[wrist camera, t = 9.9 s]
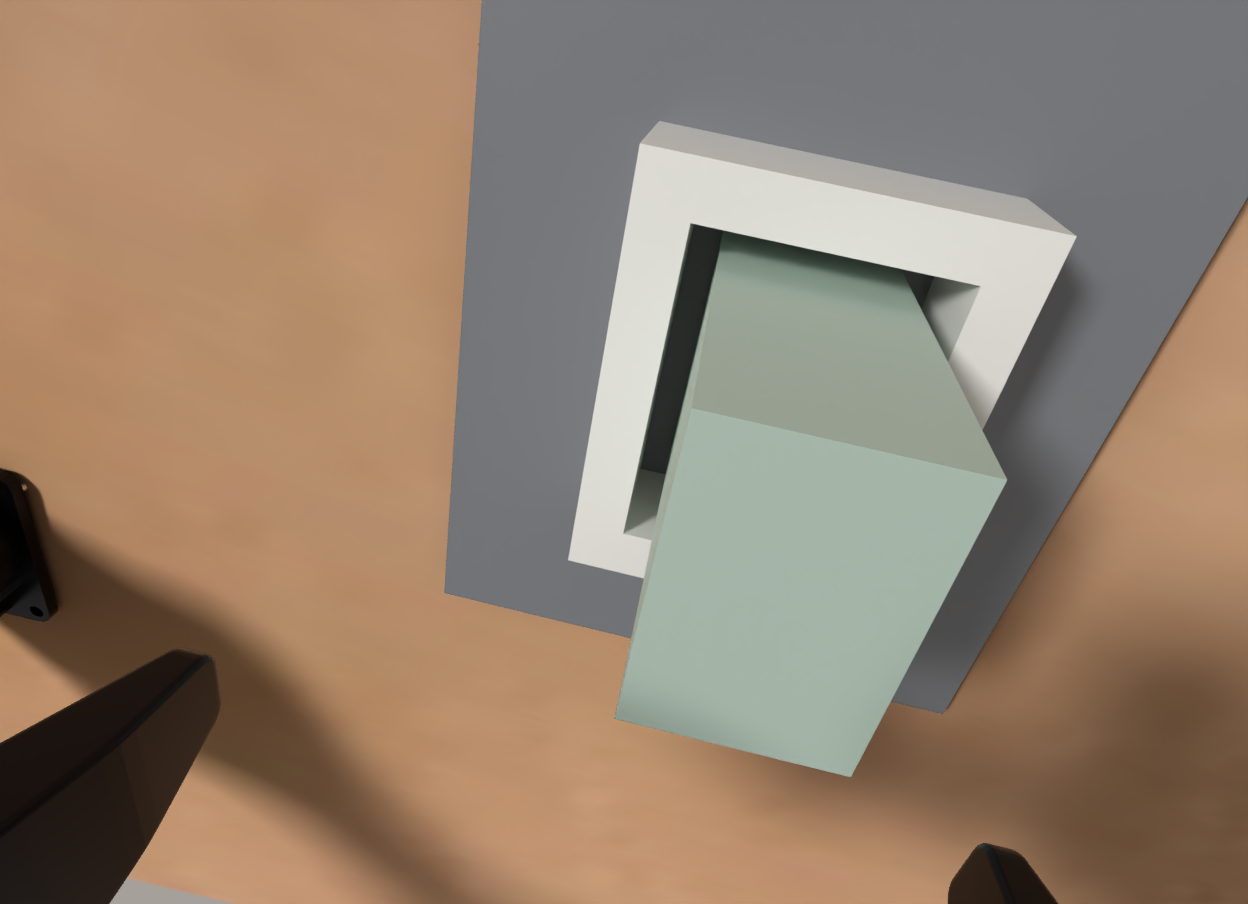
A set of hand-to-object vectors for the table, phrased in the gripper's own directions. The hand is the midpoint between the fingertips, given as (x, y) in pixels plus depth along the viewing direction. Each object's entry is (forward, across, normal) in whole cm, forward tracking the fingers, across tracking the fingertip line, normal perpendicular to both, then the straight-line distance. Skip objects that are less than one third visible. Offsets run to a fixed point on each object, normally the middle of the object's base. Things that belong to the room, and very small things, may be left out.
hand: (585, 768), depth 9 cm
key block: (+12, -2, 0) cm, 12 cm away
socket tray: (+13, -2, 0) cm, 13 cm away
